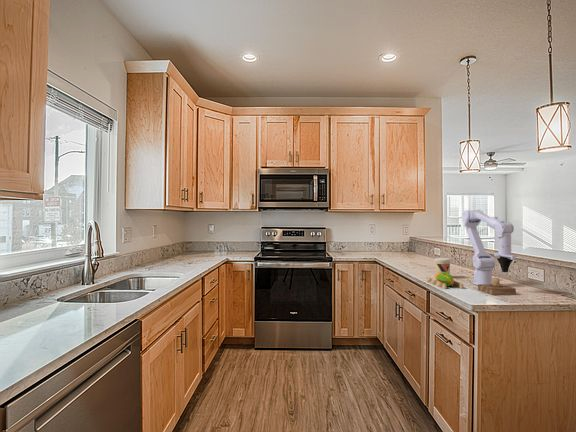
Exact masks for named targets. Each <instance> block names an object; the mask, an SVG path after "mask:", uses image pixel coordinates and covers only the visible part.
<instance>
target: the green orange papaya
mask: <svg viewBox="0 0 576 432" xmlns="http://www.w3.org/2000/svg"><path fill="white" fill-rule="evenodd" d="M440 272H441V271H440ZM443 273H444V274H443ZM434 277H435V280H437V281H440V282H442V283H444V284H446V285H447V287H451V286H454V285H453V284H454V281H455V279H454V277H453V276H452V274H451V273H450V274H448V273H446V272H442V273H441V274H436V273H435V275H434Z"/></svg>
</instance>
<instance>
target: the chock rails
mask: <svg viewBox="0 0 576 432" xmlns="http://www.w3.org/2000/svg"><path fill="white" fill-rule="evenodd" d="M426 282H428V283H430V284H433V285H434V286H437V287H439V288H442V289H444V290H447V288H448V286H447V285H446V284H444V283H442V282H440V281H438V280H436V278H435V279H434V278H432V277H430V276H426ZM452 286H454V287H457V288H458V289H463V290H464V283H462V282H458V281H456V280H454V284H453V285H452Z"/></svg>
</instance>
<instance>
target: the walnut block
mask: <svg viewBox="0 0 576 432" xmlns="http://www.w3.org/2000/svg"><path fill="white" fill-rule="evenodd" d="M477 290H478V291H479V292H483V293H486V294H488V295H491V296H505V295H507V296H509V295H510V296H511V295H512V296H513V295H514V296H515V295H517V288H515V287H512V286H509V285H505V284H502V283H500V287H492V284H478V285H477Z"/></svg>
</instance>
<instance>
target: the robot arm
mask: <svg viewBox="0 0 576 432" xmlns="http://www.w3.org/2000/svg"><path fill="white" fill-rule="evenodd" d="M461 220H462V222H463V225H464V227H465V230H466V233H467V236H468V238H469V241H470V243H471V246H472V248H473V252H474V255H473V256H472V264H473V267H474V268H475V270H474V271H473V282H472V284H474V285H476V286H478V284H492V278H493V276H492V275H493V274H492V273H493V272H492V271H493V270H494V268H495V266H496V261H495V259H494V258H493V257H492V255H491V254H490V253H488V252H487V251H486V249H485V247H484V244H483V242H482V239H481V235H480V234H479V232H478V229H477V227H478V226H479V225H480V223H481V221H482V222H485V223H486V224H487V226H488V227H489V228H491V229H493V230H494V231H495V233H496V237H497V241H498V242H497V252H494V253H493V256H494V257H496V258H497V259H496V260H497V262H498V263H499V265H500V268H501V272H502V273H508V271H509V269H510V266H511V264H512V262H513V261H515V260H517V255H514V254H512V233H513V232H514V228H515V227H514V225H513V223H511V222H505V221H504V220H503V219H499V218H498V216H490V215H487V214H486V213H484V211H483V210H481V209H475V210H471V209H465V210H463V212H462V214H461Z"/></svg>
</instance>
